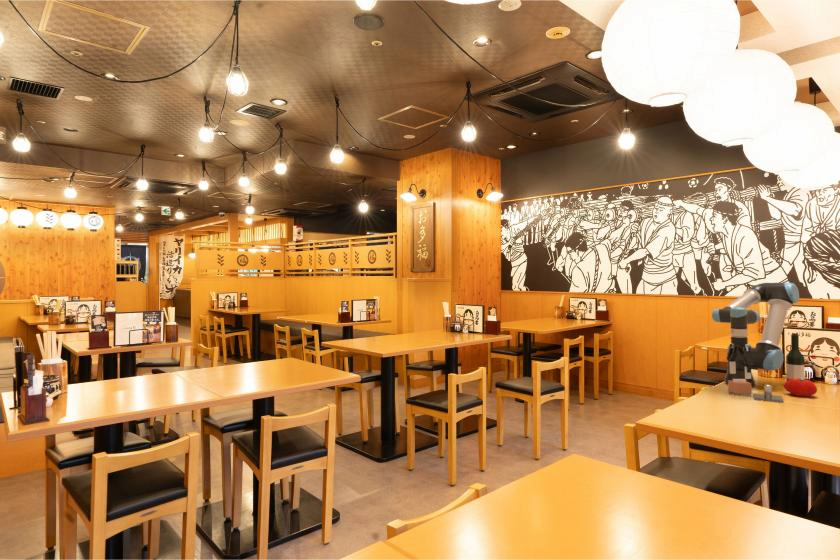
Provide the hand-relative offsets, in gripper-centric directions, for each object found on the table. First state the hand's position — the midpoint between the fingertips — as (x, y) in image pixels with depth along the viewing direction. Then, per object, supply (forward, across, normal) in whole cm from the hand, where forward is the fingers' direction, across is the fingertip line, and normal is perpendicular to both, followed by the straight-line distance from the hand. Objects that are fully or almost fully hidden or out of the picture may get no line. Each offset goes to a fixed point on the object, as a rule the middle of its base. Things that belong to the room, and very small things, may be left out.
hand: (740, 376), depth 264 cm
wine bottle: (+11, -20, +42) cm, 48 cm away
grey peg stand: (+9, +13, +6) cm, 17 cm away
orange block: (+9, 0, -1) cm, 9 cm away
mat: (+9, 0, -1) cm, 9 cm away
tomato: (+10, +4, +28) cm, 30 cm away
